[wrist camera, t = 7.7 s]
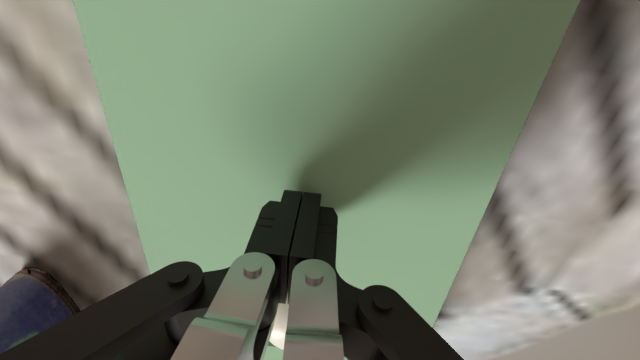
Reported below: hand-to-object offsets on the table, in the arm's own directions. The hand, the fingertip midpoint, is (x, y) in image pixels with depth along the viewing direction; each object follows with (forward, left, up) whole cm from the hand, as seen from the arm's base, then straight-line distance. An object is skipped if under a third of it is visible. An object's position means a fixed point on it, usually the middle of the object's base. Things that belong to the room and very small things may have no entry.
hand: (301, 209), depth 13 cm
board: (+2, 0, -3) cm, 4 cm away
